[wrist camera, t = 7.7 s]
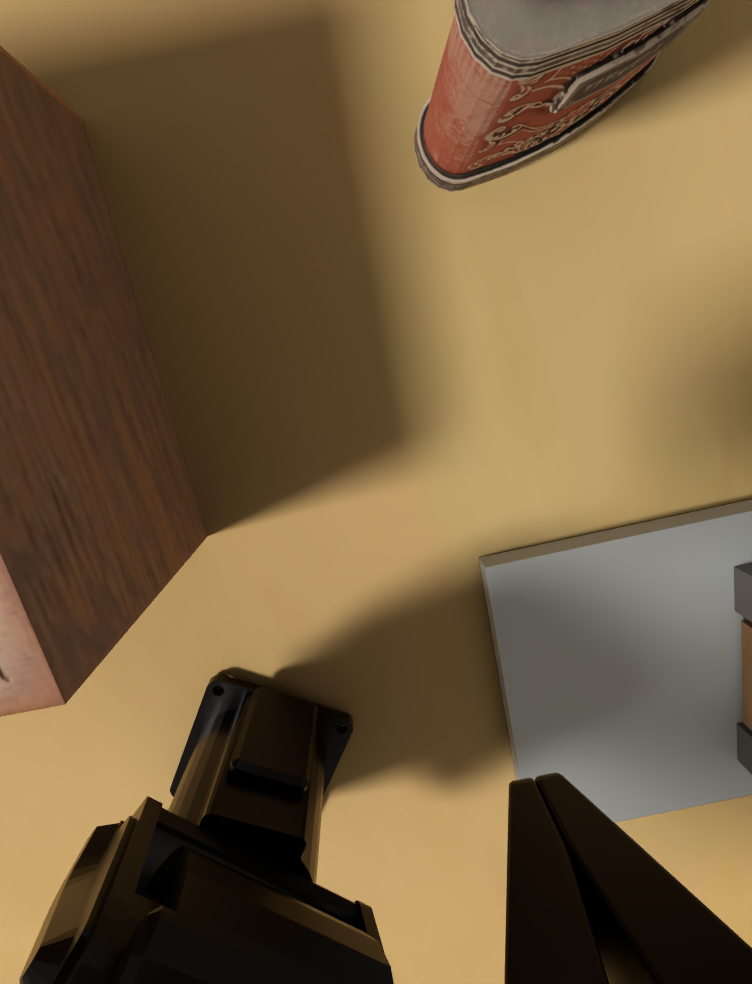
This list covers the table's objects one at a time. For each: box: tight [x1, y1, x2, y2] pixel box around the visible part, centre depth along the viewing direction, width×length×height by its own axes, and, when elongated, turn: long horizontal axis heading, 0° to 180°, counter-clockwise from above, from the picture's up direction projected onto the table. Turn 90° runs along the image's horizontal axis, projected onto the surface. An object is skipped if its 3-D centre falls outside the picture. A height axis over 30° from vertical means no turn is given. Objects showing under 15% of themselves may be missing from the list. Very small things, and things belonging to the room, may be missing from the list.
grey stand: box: [479, 499, 752, 823], centre depth 19 cm, size 14×14×6 cm
